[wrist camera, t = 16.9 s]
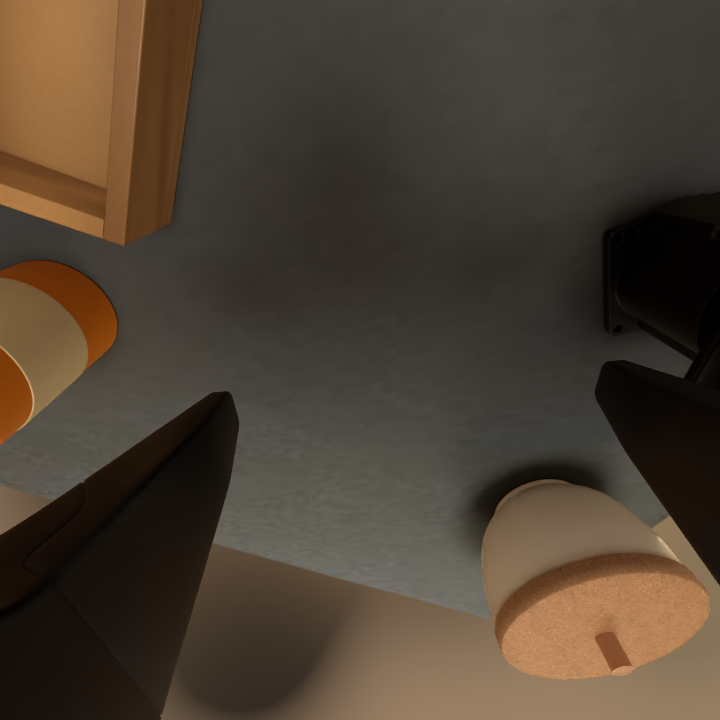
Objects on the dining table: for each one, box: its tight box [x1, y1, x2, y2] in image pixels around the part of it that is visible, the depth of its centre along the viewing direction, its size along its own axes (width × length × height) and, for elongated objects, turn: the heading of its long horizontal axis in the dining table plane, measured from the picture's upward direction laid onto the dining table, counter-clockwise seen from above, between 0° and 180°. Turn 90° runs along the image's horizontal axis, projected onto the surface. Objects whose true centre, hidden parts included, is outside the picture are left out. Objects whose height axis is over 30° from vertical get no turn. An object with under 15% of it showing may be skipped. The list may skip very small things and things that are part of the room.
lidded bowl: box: [481, 479, 710, 679], centre depth 27 cm, size 13×13×11 cm
